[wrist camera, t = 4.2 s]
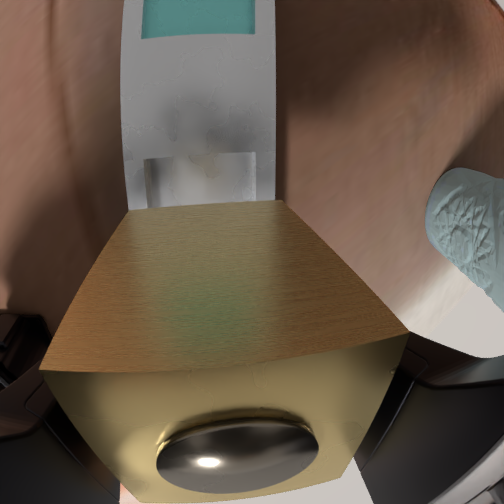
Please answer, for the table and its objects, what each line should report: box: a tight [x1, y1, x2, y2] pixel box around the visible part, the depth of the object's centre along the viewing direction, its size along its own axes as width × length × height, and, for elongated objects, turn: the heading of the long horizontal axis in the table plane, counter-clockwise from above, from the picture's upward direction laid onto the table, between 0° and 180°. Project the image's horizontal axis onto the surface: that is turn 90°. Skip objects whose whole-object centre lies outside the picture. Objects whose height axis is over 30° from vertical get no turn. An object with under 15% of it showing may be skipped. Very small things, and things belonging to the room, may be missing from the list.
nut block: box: [39, 200, 410, 503], centre depth 7 cm, size 5×5×7 cm
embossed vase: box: [425, 168, 504, 312], centre depth 19 cm, size 10×10×12 cm
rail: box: [120, 0, 276, 210], centre depth 16 cm, size 23×9×2 cm, turn 0°
